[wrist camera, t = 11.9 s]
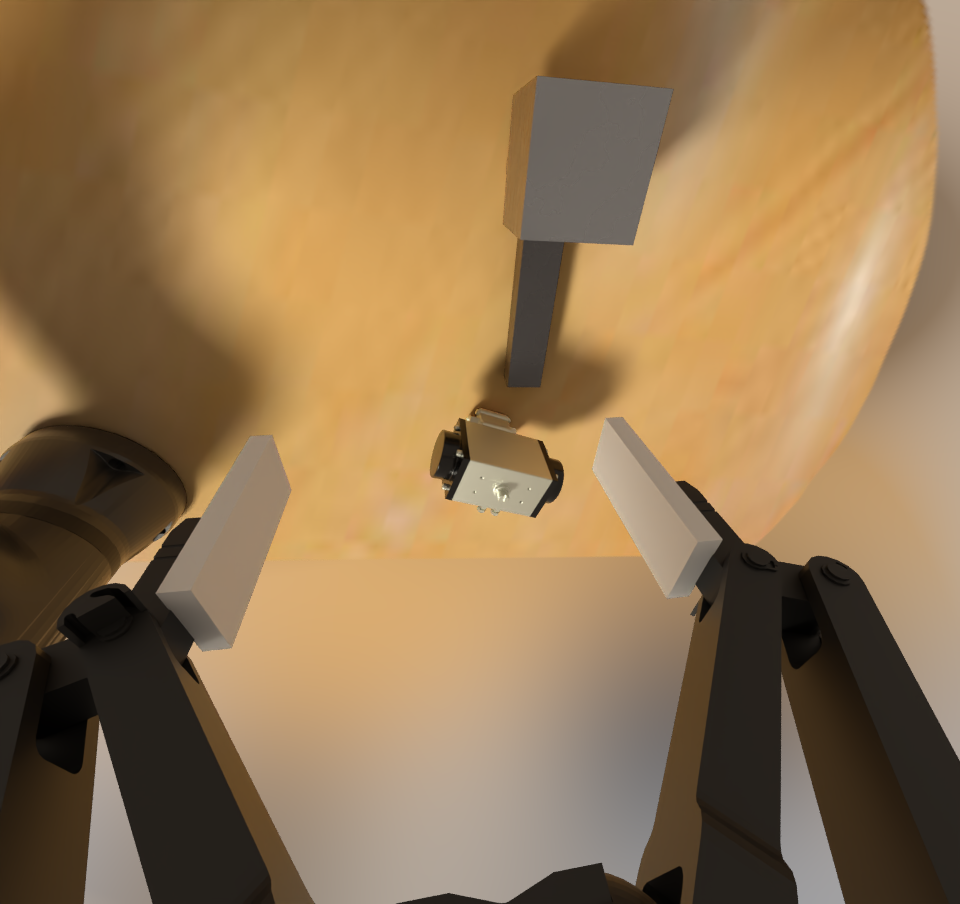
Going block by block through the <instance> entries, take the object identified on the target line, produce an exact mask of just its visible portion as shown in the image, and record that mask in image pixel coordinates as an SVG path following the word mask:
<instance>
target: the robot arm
mask: <svg viewBox="0 0 960 904" xmlns="http://www.w3.org/2000/svg"><path fill="white" fill-rule="evenodd" d="M592 470H593V472H594V474H595V475H596V477H597V479H598V481H599V482H600V484H601V486H602V487H603V489H604V491H605V493H606V494H607V496H608V498H609V500H610V501H611V503H612V505H613V506H614V508H615V510H616V512H617V513H618V515H619V517H620V519H621V520H622V522H623V524H624V525H625V527H626V529H627V531H628V532H629V534H630V536H631V538H632V539H633V541H634V543H635V544H636V546H637V548H638V550H639V551H640V553H641V555H642V557H643V558H644V560H645V562H646V563H647V565H648V567H649V569H650V570H651V572H652V574H653V576H654V577H655V579H656V581H657V582H658V584H659V586H660V587H661V589H662V591H663V593H664V595H665V596H666V598H667V599H670V598H678V597H687V596H689V595H690V594H691V592H692V590H693V589H694V587H695V585H696V586H697V587H698V589H699V590H700V592H701V593H702V596H701V598H700V600H699V601H698V603H697V604H696V606H695V608H694V609H693V611H692V613H691V615H692V616H695V614H696V618H695V623H694V628H693V633H692V638H691V643H690V648H689V653H688V658H687V663H686V668H685V673H684V678H683V682H682V687H681V692H680V697H679V702H678V707H677V712H676V717H675V722H674V728H673V733H672V738H671V742H670V747H669V752H668V757H667V763H666V768H665V773H664V778H663V783H662V787H661V793H660V797H659V802H658V808H657V812H656V818H655V822H654V826H653V830H652V833H651V836H650V838H649V841H648V843H647V845H646V848H645V850H644V853H643V856H642V859H641V863H640V867H639V872H638V876H637V881H636V886H634V885H632V884H631V883H629V882H627V881H625V880H624V879H621V878H619V877H616V876H614V875H611V874H608V873H604V869H603V866H602V863H598V864H593V865H588V866H583V867H578V868H573V869H568V870H563V871H558V872H553V873H552V874H550V875H549V876H547V877H546V878H544V879H543V880H541V881H540V882H538V883H537V884H535V885H534V886H532V887H531V888H529V889H528V890H526V891H524V892H523V893H521V894H520V895H518V896H517V897H515V898H514V899H512V900H511V901H509V902H507V903H495V902H490V901H486V900H481V899H476V898H471V897H465V896H460V895H455V894H450V893H447V894H442V895H437V896H432V897H427V898H422V899H417V900H412V901H407V902H402V903H397V904H798V895H797V885H796V882H795V878H794V876H793V872H792V871H791V869H790V868H789V867H788V865H787V864H786V862H785V861H784V860H783V857H782V854H781V846H780V813H781V810H780V809H781V806H780V805H781V800H780V799H781V798H780V797H781V672H782V675H783V679H784V683H785V687H786V690H787V694H788V698H789V701H790V705H791V709H792V712H793V716H794V719H795V723H796V727H797V730H798V734H799V738H800V741H801V745H802V749H803V752H804V755H805V759H806V763H807V766H808V770H809V774H810V778H811V781H812V785H813V788H814V792H815V795H816V799H817V803H818V806H819V810H820V814H821V817H822V821H823V825H824V828H825V832H826V836H827V839H828V843H829V846H830V850H831V854H832V857H833V861H834V864H835V868H836V872H837V875H838V879H839V883H840V886H841V890H842V894H843V897H844V901H845V904H960V761H959V759H958V757H957V755H956V754H955V752H954V750H953V748H952V746H951V744H950V742H949V740H948V738H947V737H946V735H945V733H944V731H943V729H942V727H941V725H940V723H939V722H938V720H937V718H936V716H935V714H934V712H933V710H932V709H931V707H930V705H929V703H928V701H927V699H926V697H925V695H924V694H923V692H922V690H921V688H920V686H919V684H918V682H917V681H916V679H915V677H914V675H913V673H912V671H911V669H910V667H909V666H908V664H907V662H906V660H905V658H904V656H903V654H902V653H901V651H900V649H899V647H898V645H897V643H896V641H895V639H894V638H893V636H892V634H891V632H890V630H889V628H888V626H887V625H886V623H885V621H884V619H883V617H882V615H881V613H880V611H879V610H878V608H877V606H876V604H875V602H874V600H873V598H872V597H871V595H870V593H869V591H868V589H867V587H866V585H865V584H864V582H863V580H862V579H861V578H860V576H859V575H858V574H857V573H856V572H855V571H854V570H852V569H851V568H849V566H847V565H845V564H843V563H842V562H840V561H838V560H835V559H832V558H829V557H824V556H816V557H812V558H811V559H810V560H809V561H808V562H807V564H806V565H805V566H801V565H795V564H790V563H784V562H778V561H777V560H776V559H775V558H774V557H773V556H772V555H771V554H769V553H768V552H767V551H765V550H763V549H761V548H759V547H757V546H754V545H751V544H745V543H743V541H742V540H741V539H740V538H739V537H738V536H737V534H736V533H735V532H734V531H733V530H732V529H731V528H730V526H729V525H728V524H727V523H726V522H725V521H724V519H723V518H722V517H721V516H720V515H719V514H718V513H717V512H715V509H714V508H713V507H712V506H711V504H710V503H707V500H706V499H705V498H704V496H703V495H702V494H701V493H700V492H699V491H698V490H697V489H696V488H694V487H693V486H691V485H690V484H688V483H687V482H685V481H676V482H675V481H674V479H673V478H672V477H671V476H670V474H669V473H668V472H667V471H666V470H665V468H664V467H663V466H662V465H661V463H660V462H659V461H658V460H657V459H656V457H655V456H654V455H653V454H652V452H651V451H650V450H649V449H648V448H647V446H646V445H645V444H644V443H643V441H642V440H641V439H640V438H639V437H638V435H637V434H636V433H635V432H634V430H633V429H632V428H631V427H630V426H629V424H628V423H627V422H626V421H625V419H624V418H623V417H616V418H605V421H604V425H603V429H602V433H601V436H600V440H599V444H598V448H597V452H596V456H595V460H594V464H593V468H592ZM290 492H291V487H290V484H289V481H288V479H287V476H286V473H285V470H284V467H283V464H282V462H281V459H280V456H279V453H278V450H277V447H276V445H275V442H274V439H273V436H272V435H262V436H250V437H249V439H248V441H247V442H246V444H245V446H244V447H243V449H242V451H241V452H240V454H239V456H238V457H237V459H236V461H235V462H234V464H233V466H232V467H231V469H230V471H229V472H228V474H227V476H226V477H225V479H224V481H223V482H222V484H221V486H220V487H219V489H218V491H217V492H216V494H215V496H214V497H213V499H212V501H211V502H210V504H209V506H208V507H207V509H206V511H205V512H204V514H203V516H202V517H201V518H187V519H185V520H184V521H183V522H182V523H180V524H179V525H178V526H177V527H176V528H175V529H173V530H172V531H171V532H170V534H169V535H168V537H167V538H166V540H165V541H164V543H163V544H162V548H161V549H159V550H158V552H157V553H156V555H155V556H154V560H153V561H151V562H150V564H149V565H148V567H147V568H146V570H145V572H144V573H143V575H142V576H141V578H140V579H139V581H138V582H137V584H136V585H135V587H134V588H133V590H132V591H131V590H130V589H129V588H128V587H127V586H126V585H125V584H118V583H113V584H107V583H108V582H109V581H110V579H111V578H112V577H113V575H114V574H115V573H116V572H117V570H118V569H119V568H120V567H121V565H123V564H124V563H125V562H127V561H128V560H130V559H131V558H133V557H134V556H135V555H137V554H138V553H140V552H141V551H142V550H144V549H145V548H146V547H148V546H149V545H150V544H151V543H152V542H154V541H156V540H158V539H159V538H161V537H162V536H164V535H165V534H166V533H168V532H169V531H170V530H171V529H172V527H173V526H174V525H175V523H176V522H177V520H178V519H179V518H180V516H181V515H182V513H183V512H184V510H185V507H186V493H185V489H184V487H183V485H182V482H181V481H180V479H179V478H178V476H177V475H176V474H175V472H174V471H173V470H172V469H171V468H170V467H169V466H168V465H167V464H166V463H165V462H164V461H163V460H162V459H160V458H159V457H158V456H156V455H155V454H153V453H152V452H151V451H149V450H147V449H146V448H144V447H142V446H141V445H139V444H137V443H135V442H133V441H131V440H128V439H126V438H124V437H121V436H118V435H116V434H113V433H110V432H106V431H102V430H98V429H94V428H88V427H81V426H52V427H46V428H42V429H39V430H36V431H34V432H32V433H30V434H28V435H27V436H25V437H24V438H22V439H21V440H20V441H18V442H17V443H15V444H14V445H12V446H11V447H10V448H8V449H7V450H6V451H5V452H4V453H3V454H2V456H1V457H0V904H84V892H85V881H86V870H87V858H88V847H89V833H90V823H91V812H92V811H91V810H92V800H93V788H94V777H95V765H96V754H97V753H96V752H97V741H98V730H99V719H100V723H101V726H102V730H103V733H104V737H105V740H106V744H107V747H108V751H109V754H110V758H111V761H112V764H113V768H114V771H115V775H116V778H117V782H118V785H119V789H120V792H121V796H122V799H123V802H124V806H125V809H126V813H127V816H128V820H129V823H130V826H131V830H132V834H133V837H134V840H135V844H136V847H137V851H138V854H139V857H140V861H141V865H142V868H143V872H144V875H145V878H146V882H147V885H148V889H149V892H150V896H151V899H152V903H153V904H315V903H314V901H313V900H312V898H311V897H310V895H309V893H308V891H307V889H306V887H305V886H304V884H303V881H302V880H301V878H300V876H299V873H298V872H297V870H296V868H295V866H294V864H293V862H292V860H291V858H290V856H289V854H288V852H287V850H286V848H285V846H284V844H283V842H282V840H281V838H280V836H279V834H278V832H277V830H276V828H275V826H274V824H273V822H272V820H271V818H270V816H269V814H268V812H267V810H266V808H265V806H264V804H263V802H262V800H261V798H260V796H259V794H258V792H257V790H256V788H255V786H254V784H253V782H252V780H251V778H250V776H249V774H248V772H247V770H246V768H245V766H244V764H243V762H242V760H241V758H240V756H239V754H238V752H237V750H236V748H235V746H234V744H233V742H232V740H231V738H230V737H229V734H228V732H227V730H226V728H225V726H224V724H223V722H222V720H221V718H220V717H219V714H218V712H217V710H216V708H215V706H214V704H213V702H212V700H211V698H210V696H209V694H208V692H207V691H206V688H205V686H204V684H203V682H202V680H201V678H200V676H199V675H198V672H197V670H196V668H195V667H194V664H193V662H192V661H191V659H190V658H189V657H188V656H187V655H188V652H189V650H190V648H191V646H192V643H193V642H195V643H196V644H197V645H198V647H199V648H200V649H201V650H202V651H210V650H220V649H228V648H232V646H233V643H234V641H235V638H236V636H237V633H238V630H239V628H240V625H241V622H242V619H243V617H244V614H245V612H246V609H247V606H248V604H249V601H250V598H251V596H252V593H253V591H254V588H255V585H256V582H257V580H258V577H259V575H260V572H261V569H262V567H263V564H264V561H265V559H266V556H267V553H268V551H269V548H270V545H271V543H272V540H273V537H274V535H275V532H276V530H277V527H278V524H279V522H280V519H281V516H282V514H283V511H284V508H285V506H286V503H287V500H288V498H289V495H290ZM66 638H68V639H67V640H65V639H66Z"/></svg>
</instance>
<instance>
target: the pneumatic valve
mask: <svg viewBox="0 0 960 904" xmlns="http://www.w3.org/2000/svg"><path fill="white" fill-rule="evenodd" d="M475 414H477V416H476V417H473V416H467V418H466V420H464V419H460V418H459V419H458V422H457V424H456V425H455V426H454V432H450V431H447V430H442V431H441V432H440V434H439V436H438V438H437V440H436V443H435V446H434V450H433V454H432V458H431V465H430V475H431V477H432V478H437V479H441V480H442V489H444V490H445V499H448V500H453V501H458V502H463V503H467V504H472V505H477V506H478V507H477V510H478V511H479V512H480V513H484V512H485V510H486V508H491V514H492V515H494V516H497V515H498V513H499V512H500V510H501V511H506V512H510V513H515V514H520V515H525V516H529V517H534V518H536V516H537V515H538V513H539V511H540V510H541V508H542V507H543V505H544V504H545V503H551V502H553V501H554V500H555V499H556V498H557V496H558V495H559V493H560V491H561V488H562V485H563V480H564V470H563V466H562V464H561V462H560V461H559V460H556V459H552V458H549V456H548V453H547V452H548V450H547V449H546V448H545V446H544V443H543V441H540V440H536V439H533V438H529V437H525V436H522V435H518V434H516V429H515V428H512V427H509V423H510V422H511V420H510V418H508V416H507V415H504V414H500V413H497V412H493V411H490V410H486V409H483V408H479V409H476V411H475Z"/></svg>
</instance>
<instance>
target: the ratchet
mask: <svg viewBox="0 0 960 904" xmlns="http://www.w3.org/2000/svg"><path fill="white" fill-rule="evenodd" d="M507 165H508V159H507ZM506 174H507V166H506ZM563 246H564V242H554V241H533V240H520V239H519V238H518V241H517V251H516V261H515V271H514V281H513V291H512V301H511V311H510V321H509V331H508V341H507V350H506V360H505V370H504V378H505V381H506V384H507V387H540V385H541V379H542V373H543V367H544V361H545V355H546V349H547V343H548V337H549V331H550V325H551V319H552V313H553V307H554V301H555V294H556V288H557V282H558V276H559V270H560V264H561V258H562V252H563Z"/></svg>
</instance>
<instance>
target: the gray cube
mask: <svg viewBox="0 0 960 904" xmlns="http://www.w3.org/2000/svg"><path fill="white" fill-rule="evenodd" d="M672 93H673V89H669V88H659V87H648V86H638V85H628V84H617V83H607V82H596V81H586V80H576V79H565V78H555V77H544V76H536V77H535V78H534V79H533V80H531V81H530V82H529V83H528V84H526V85H525V86H524V87H523V88H521V89H520V90H519V91H518V92H516V93H515V94H514V95H513V101H512V114H511V127H510V140H509V152H508V165H507V178H506V190H505V203H504V216H503V225H504V226H505V227H506V228H508V229H509V230H510V231H511V232H512V233H513V234H514V235H515V236H516V237H518V238H519V239H520V240H533V241H554V242H575V243H597V244H618V245H633V243H634V239H635V236H636V232H637V228H638V224H639V220H640V216H641V213H642V209H643V205H644V201H645V197H646V193H647V189H648V186H649V182H650V178H651V174H652V170H653V166H654V163H655V159H656V155H657V151H658V147H659V143H660V139H661V136H662V132H663V128H664V124H665V120H666V116H667V112H668V109H669V105H670V101H671V97H672Z"/></svg>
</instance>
